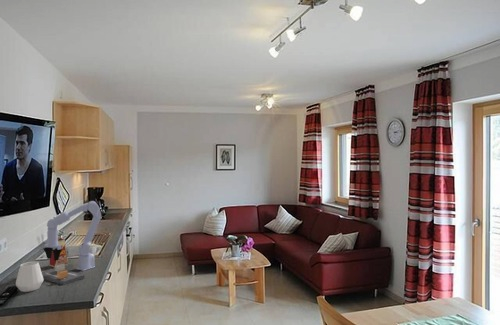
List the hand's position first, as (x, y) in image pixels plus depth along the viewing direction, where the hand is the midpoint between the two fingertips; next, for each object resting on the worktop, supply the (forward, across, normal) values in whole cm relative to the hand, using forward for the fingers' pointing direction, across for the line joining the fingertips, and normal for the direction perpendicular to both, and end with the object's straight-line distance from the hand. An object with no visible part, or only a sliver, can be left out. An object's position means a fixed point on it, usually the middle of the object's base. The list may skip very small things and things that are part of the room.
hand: (52, 259), depth 229 cm
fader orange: (+6, +21, -7) cm, 23 cm away
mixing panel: (+8, +14, -3) cm, 17 cm away
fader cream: (+6, +7, 0) cm, 9 cm away
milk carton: (+9, -12, +11) cm, 19 cm away
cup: (+9, +16, -23) cm, 29 cm away
